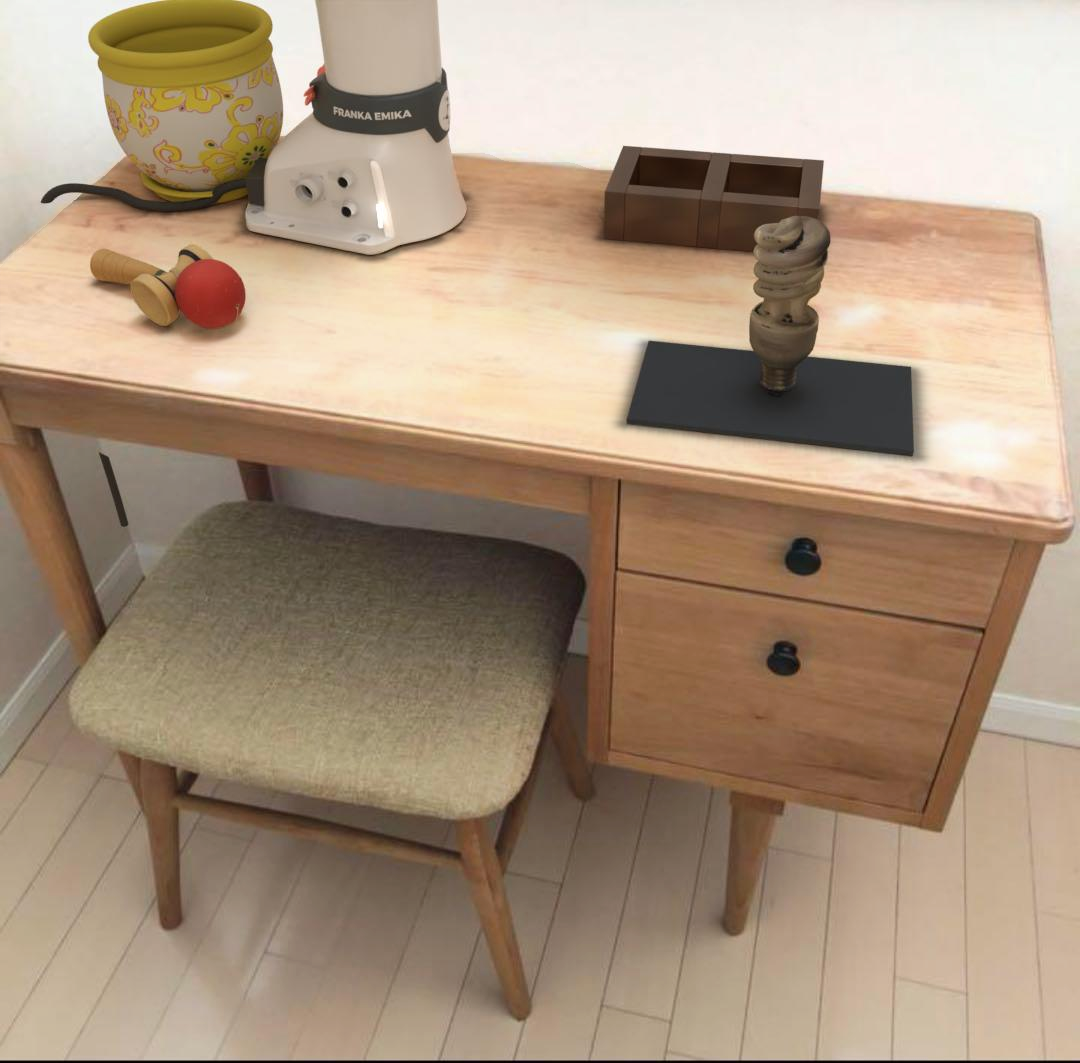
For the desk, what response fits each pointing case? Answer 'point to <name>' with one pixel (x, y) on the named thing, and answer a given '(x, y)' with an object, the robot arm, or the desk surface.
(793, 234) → the light bulb
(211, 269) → the kendama
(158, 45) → the flowerpot
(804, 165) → the stand
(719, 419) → the mat
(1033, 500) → the desk surface
